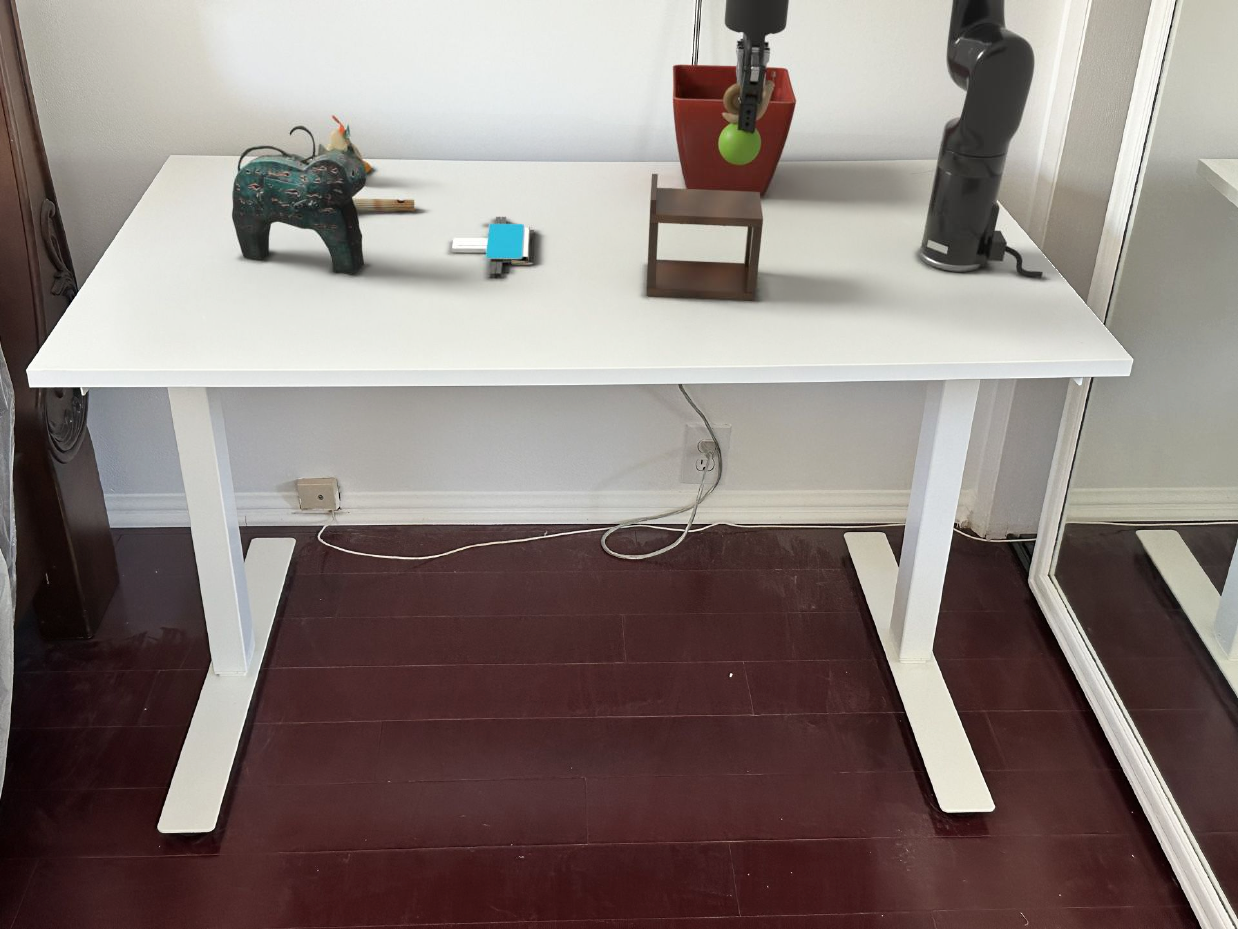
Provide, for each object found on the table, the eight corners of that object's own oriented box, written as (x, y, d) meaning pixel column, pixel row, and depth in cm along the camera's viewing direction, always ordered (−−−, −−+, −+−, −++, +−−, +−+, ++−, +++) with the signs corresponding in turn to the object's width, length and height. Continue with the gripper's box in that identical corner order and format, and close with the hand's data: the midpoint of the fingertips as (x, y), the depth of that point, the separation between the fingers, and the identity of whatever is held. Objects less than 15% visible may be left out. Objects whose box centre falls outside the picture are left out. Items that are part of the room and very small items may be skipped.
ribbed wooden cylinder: (283, 188, 181) (414, 192, 184) (285, 205, 183) (414, 209, 185) (280, 198, 178) (413, 202, 181) (282, 215, 180) (413, 218, 182)
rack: (751, 270, 169) (760, 177, 161) (754, 300, 161) (764, 204, 153) (647, 266, 169) (652, 173, 161) (646, 296, 161) (650, 199, 153)
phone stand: (457, 220, 181) (457, 210, 180) (534, 221, 181) (534, 211, 181) (447, 277, 164) (447, 266, 164) (532, 278, 165) (532, 267, 164)
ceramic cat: (378, 264, 168) (364, 126, 156) (358, 283, 162) (342, 142, 151) (254, 245, 172) (231, 109, 160) (230, 263, 167) (205, 124, 155)
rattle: (391, 179, 194) (385, 110, 188) (348, 190, 190) (341, 121, 183) (366, 166, 199) (359, 99, 192) (324, 177, 194) (315, 109, 187)
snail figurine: (766, 172, 150) (776, 78, 143) (716, 169, 150) (723, 75, 143) (766, 157, 154) (775, 65, 147) (717, 154, 155) (724, 62, 148)
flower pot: (667, 160, 205) (672, 62, 195) (777, 164, 204) (787, 66, 195) (667, 202, 189) (672, 98, 180) (785, 206, 189) (797, 102, 179)
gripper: (795, 2, 134) (778, 149, 144) (785, -25, 145) (770, 113, 155) (729, -1, 134) (717, 147, 144) (725, -27, 145) (714, 111, 155)
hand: (745, 129), depth 150 cm, fingers closed on snail figurine
